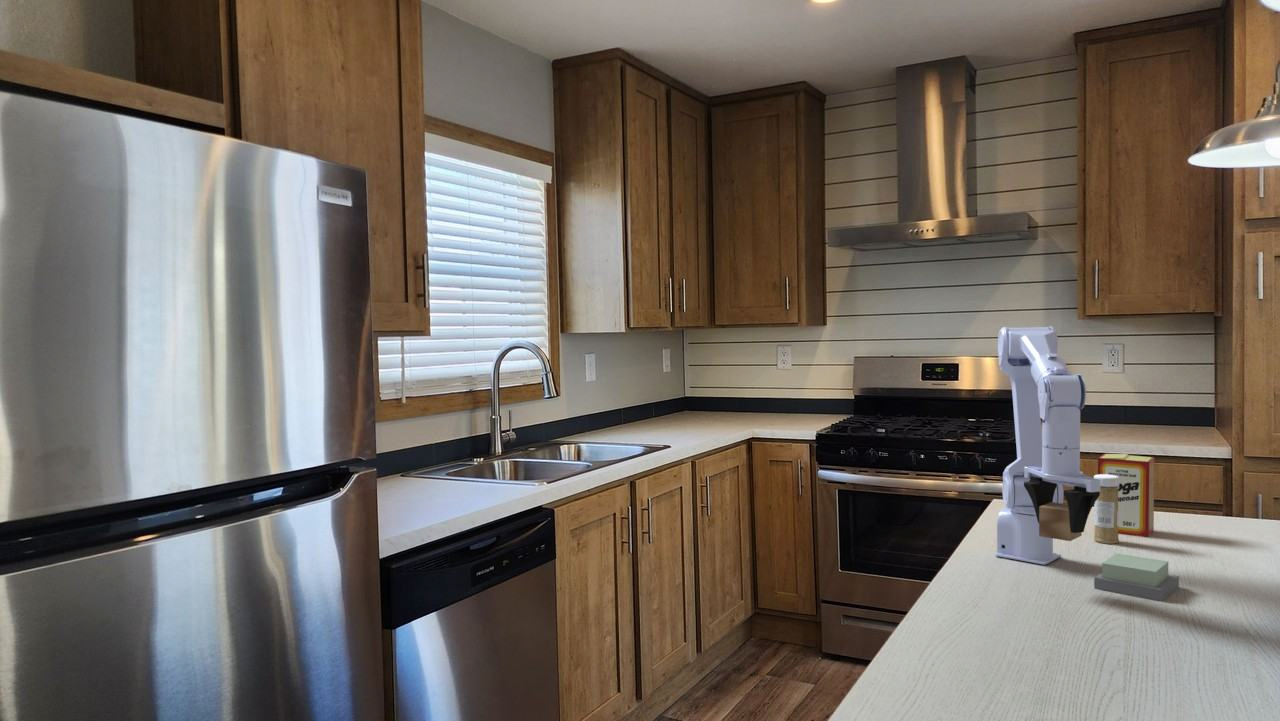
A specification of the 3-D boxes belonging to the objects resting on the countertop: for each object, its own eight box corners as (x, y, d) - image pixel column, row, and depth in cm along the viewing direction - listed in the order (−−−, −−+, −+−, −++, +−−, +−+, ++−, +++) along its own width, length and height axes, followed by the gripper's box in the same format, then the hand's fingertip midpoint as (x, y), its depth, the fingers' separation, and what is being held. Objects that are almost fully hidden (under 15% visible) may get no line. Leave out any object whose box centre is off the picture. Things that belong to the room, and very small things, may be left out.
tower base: (1094, 592, 149) (1094, 577, 149) (1114, 579, 157) (1114, 565, 156) (1160, 605, 142) (1160, 589, 142) (1178, 591, 149) (1178, 576, 149)
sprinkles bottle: (1123, 542, 179) (1123, 475, 178) (1111, 545, 177) (1111, 478, 176) (1100, 537, 183) (1101, 472, 182) (1088, 540, 180) (1089, 475, 180)
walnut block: (1039, 536, 149) (1039, 506, 149) (1050, 530, 153) (1051, 502, 152) (1070, 541, 146) (1070, 510, 145) (1081, 535, 149) (1081, 506, 149)
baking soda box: (1153, 530, 188) (1154, 455, 187) (1148, 537, 183) (1149, 459, 182) (1103, 525, 194) (1104, 452, 193) (1097, 531, 189) (1098, 456, 188)
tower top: (1101, 577, 149) (1102, 563, 149) (1116, 567, 155) (1116, 553, 155) (1155, 587, 144) (1155, 571, 144) (1168, 576, 149) (1168, 561, 149)
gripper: (1115, 451, 143) (1114, 534, 144) (1047, 440, 157) (1046, 516, 157) (1081, 454, 141) (1080, 538, 141) (1014, 442, 154) (1014, 519, 155)
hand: (1060, 527), depth 149 cm, fingers closed on walnut block, 7 cm apart
